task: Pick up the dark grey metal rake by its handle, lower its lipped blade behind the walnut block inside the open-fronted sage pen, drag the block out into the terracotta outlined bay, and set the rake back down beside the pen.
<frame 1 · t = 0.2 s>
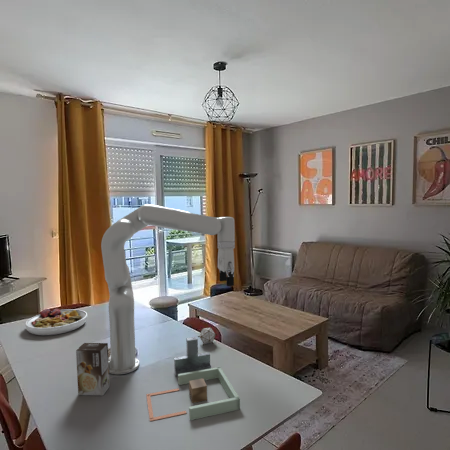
hand: (226, 283, 140), 31 cm above the table, fingers open, 9 cm apart
plate of food: (57, 327, 174), on the table
terracotta bay outline: (165, 403, 104), on the table
walnut block: (198, 397, 108), on the table
game die: (207, 344, 150), on the table
coffee box: (94, 391, 112), on the table
rake: (192, 370, 126), on the table
sage pen: (203, 396, 108), on the table
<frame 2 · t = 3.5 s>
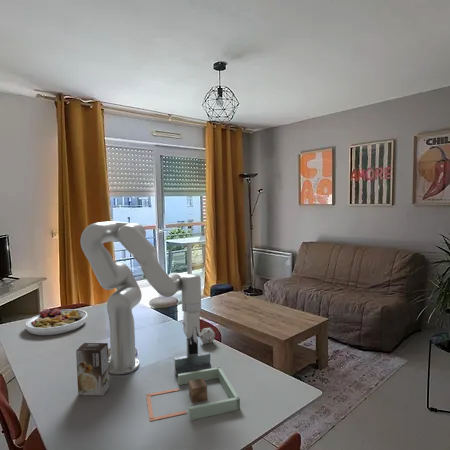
hand: (192, 351, 125), 8 cm above the table, fingers closed on rake, 2 cm apart
rake: (192, 370, 125), on the table, touching gripper
everything else where it was.
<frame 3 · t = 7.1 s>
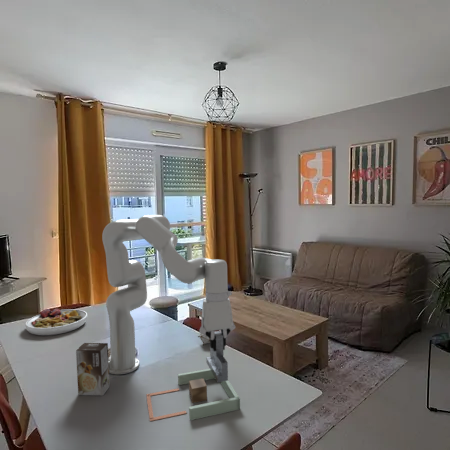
hand: (218, 348, 109), 16 cm above the table, fingers closed on rake, 2 cm apart
rake: (218, 370, 109), point 8 cm above the table, touching gripper
everything else where it was.
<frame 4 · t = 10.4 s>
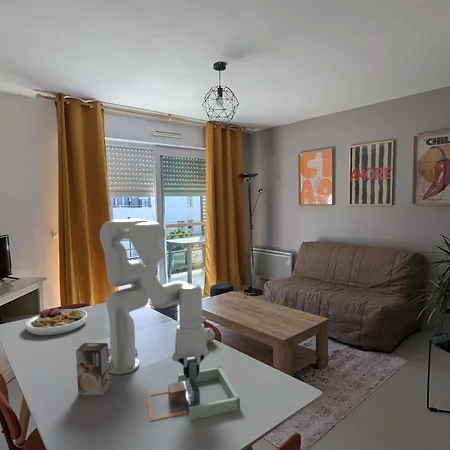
hand: (191, 375, 107), 8 cm above the table, fingers closed on rake, 2 cm apart
walnut block: (177, 401, 106), on the table, touching rake
rake: (191, 397, 107), on the table, touching gripper, walnut block
everything else where it was.
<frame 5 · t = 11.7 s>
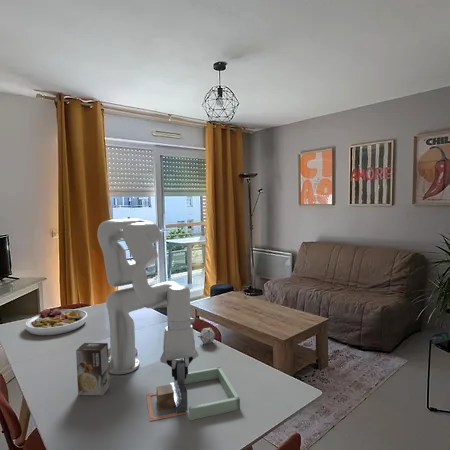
hand: (179, 377, 106), 8 cm above the table, fingers closed on rake, 2 cm apart
walnut block: (165, 404, 104), on the table
rake: (180, 398, 106), point 1 cm above the table, touching gripper
everything else where it was.
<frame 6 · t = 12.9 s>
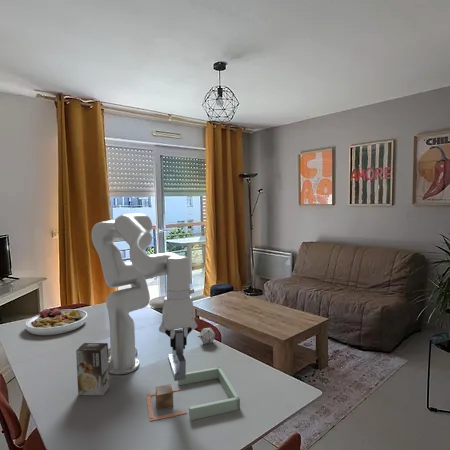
hand: (178, 347, 105), 18 cm above the table, fingers closed on rake, 2 cm apart
rake: (178, 368, 106), point 11 cm above the table, touching gripper
when the fingers open (9 cm above the table, at t = 17.5 s): rake drops 2 cm, on the table.
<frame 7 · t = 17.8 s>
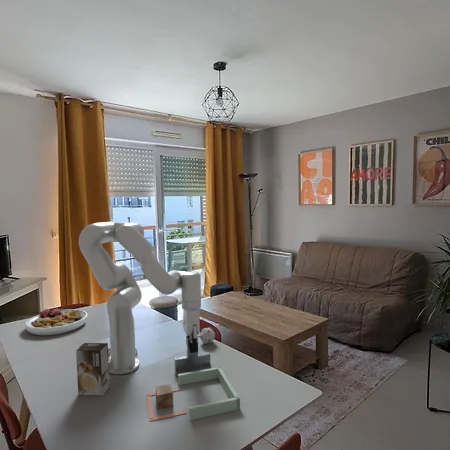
hand: (192, 348, 125), 9 cm above the table, fingers open, 6 cm apart
rake: (192, 370, 126), on the table
everything else where it was.
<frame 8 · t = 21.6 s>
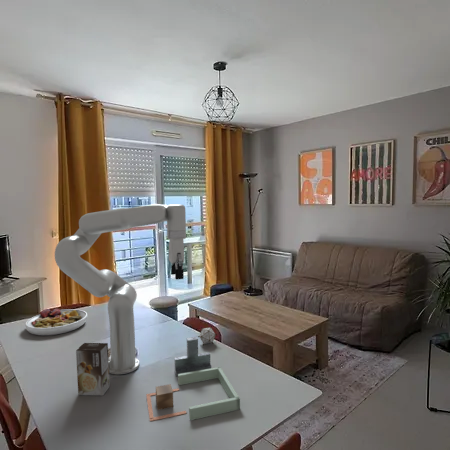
hand: (177, 276, 130), 36 cm above the table, fingers open, 9 cm apart
nothing on the table moved.
at the end: walnut block inside the target area (0.8 cm from its centre), on the table; walnut block tilted 0°; rake inside the target area (0.1 cm from its centre), on the table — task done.
